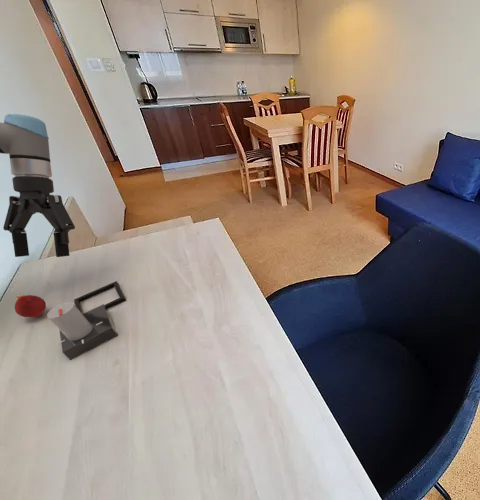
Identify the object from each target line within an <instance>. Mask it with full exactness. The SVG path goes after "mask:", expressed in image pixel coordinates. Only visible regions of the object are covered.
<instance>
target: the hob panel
mask: <svg viewBox="0 0 480 500" xmlns="http://www.w3.org/2000/svg"><path fill="white" fill-rule="evenodd" d="M83 316H84V317H85V318H86V319H87V320H88V321H89V323H90V324H91V325H92V326H93V329H92V331H91V332H90V333H89V334H88V335H87V336H85V337H83V338H81V339H79V340H76V341H70V340H69V339H68V338H67V337H66V336H65V335H64V334H63V333H62V332H61V331H60V330H59V329H58V331H59V337H60V341H58V342H57V344H56V345H60V344H61V350H62V353H63V354H64V356H66V358H68V360H69V361H71V360H73V359H75V358H77V357H79V356H81V355H83V354H85V353H86V352H87V353H88V351H91V350H93V349H95V348H96V347H98V346H100V345H102V344H104V343H106V342H108V341H110V340H113V339H114V338H116V337H118V336H119V334H118V332H117V328H116V326H115V323H114V320H113V317H112V315H111V312H110V310H109V309H107V308H106V307H105V304H101V305H98V306H96V307H94V308H92V309H90V310H88V311H86V312H85V311H84V312H83Z"/></svg>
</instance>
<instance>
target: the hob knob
mask: <svg viewBox="0 0 480 500" xmlns="http://www.w3.org/2000/svg"><path fill="white" fill-rule="evenodd" d="M46 317H47V318H48V319H49V321H51V323H52V324H53V325H54V326H55V327H56V328H57V329H58V331H59V330H60V331H61V332H62V333H63V334H64V335H65V336H66V337H67V338H68V339H69V340H70V341H76V340H79V339H81V338H83V337H85V336H87V335H88V334H89V333H90V332H91V331H92V329H93V326H92V325H91V324H90V323H89V321H88V320H87V319H86V318H85V317H84V316H83V314H82V313H81V312H80V311H79V310H78V308H77V307H76V306H75V303H74V302H71V301H67V302H64V303H63V302H62V303H60V304H58V305H56V306H54V307H53V308H51V310H49V311H48V312H47V313H46ZM60 331H59V332H60Z"/></svg>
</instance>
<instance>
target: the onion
mask: <svg viewBox="0 0 480 500" xmlns="http://www.w3.org/2000/svg"><path fill="white" fill-rule="evenodd" d="M16 298H17V299H16V301H15V303H14V311H15V313H16V314H17V315H19V316H20V317H23V318H39V317H41V316H42V314H43V313H44V312H45V311H46V308H47V303H46V301H45V299H44V298H42V297H41V296H37V295H32V294H27V295H24V294H23V295H21V294H18V295H16Z"/></svg>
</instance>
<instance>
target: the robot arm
mask: <svg viewBox="0 0 480 500" xmlns="http://www.w3.org/2000/svg"><path fill="white" fill-rule="evenodd" d="M0 154H3V155H5V154H7V155H8V156H9V164H10V174H11V175H12V176H13V177H12V180H11V181H12V187H13V188H12V189H13V191H15V192H17V193H19V196H17V195H10V196H9V197H8V201H9V202H8V203H9V204H8V208H7V213H6V216H5V219H4V224H3V230H4V231H8V232H9V233H11V239H12V244H13V251H14V257H15V258H19V257H20V258H21V257H28V256H30V250H29V241H28V235H27V230H25V229H26V227H27V226H28V224H29V222H30V220H31V218H32V217H33V215H35V214H37V213H38V214H41V215H42V216H43V217H44V218H45V219H46V220H47V222H49V224H50V225H51V227H52V228H53V229H54V230H53V242H54V250H55V257H56V258H63V257H71V256H70V255H71V254H70V247H69V246H70V245H69V243H70V240H69V239H70V237H69V232H70V231H71V230H75V229H76V226H75V224H74V222H73V220H72V218H71V216H70V215H69V213H68V211H67V209H66V207H65V205H64V202H63V198H62V196H61V195H60V194H53V193H54V192H55V187H54V180H53V179H52V177H53V173H52V166H51V165H52V164H51V157H50V156H51V155H50V154H51V153H50V143H49V135H48V130H47V125H46V123H45V122H44V121H43V120H41V119H40V118H38V117H35V116H31V115H26V114H19V113H8V114H7V113H6V115H5V116H4V120H3V122H0Z"/></svg>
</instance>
